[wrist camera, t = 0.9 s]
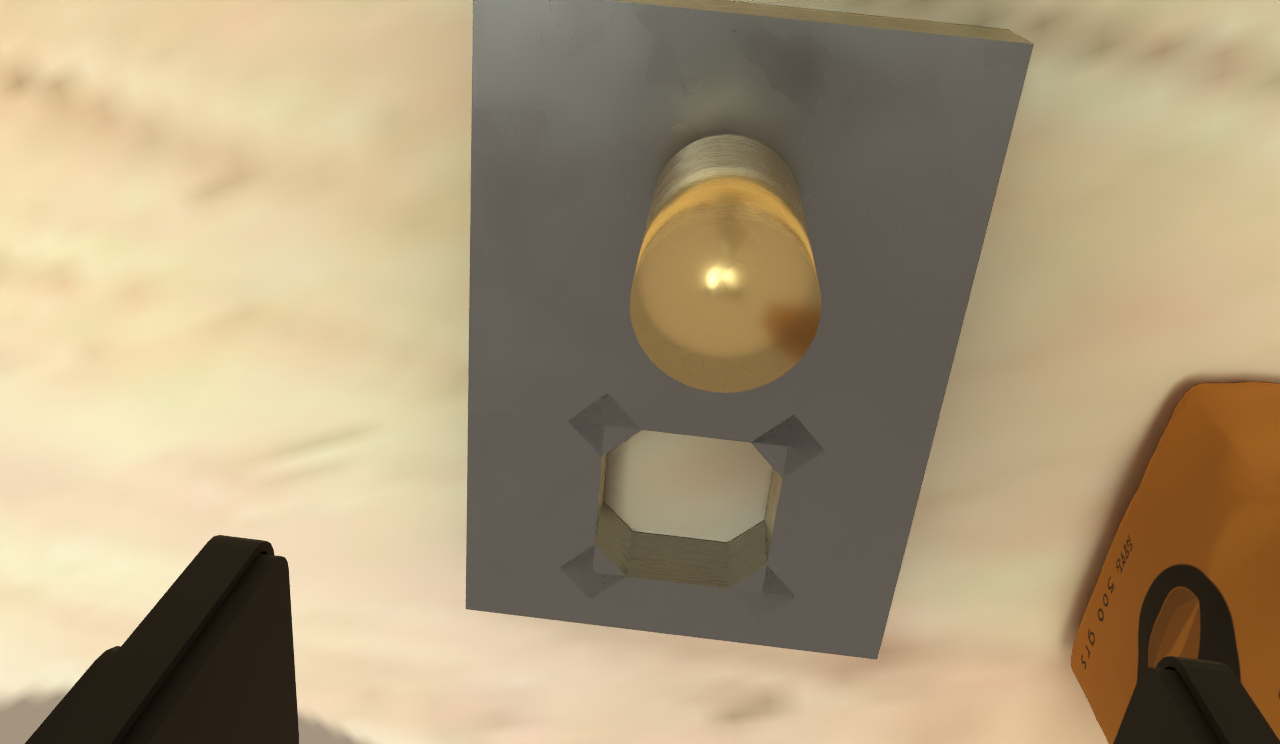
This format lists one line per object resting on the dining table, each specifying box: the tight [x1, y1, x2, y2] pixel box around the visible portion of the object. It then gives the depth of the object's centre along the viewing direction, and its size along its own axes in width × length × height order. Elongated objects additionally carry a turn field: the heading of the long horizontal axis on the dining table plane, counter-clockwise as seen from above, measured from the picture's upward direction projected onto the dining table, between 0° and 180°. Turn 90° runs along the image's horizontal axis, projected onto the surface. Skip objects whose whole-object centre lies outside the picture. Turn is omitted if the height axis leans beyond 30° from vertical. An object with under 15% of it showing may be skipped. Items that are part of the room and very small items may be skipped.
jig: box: [466, 0, 1033, 659], centre depth 31 cm, size 20×14×2 cm
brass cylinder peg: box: [630, 134, 821, 393], centre depth 24 cm, size 4×4×7 cm
